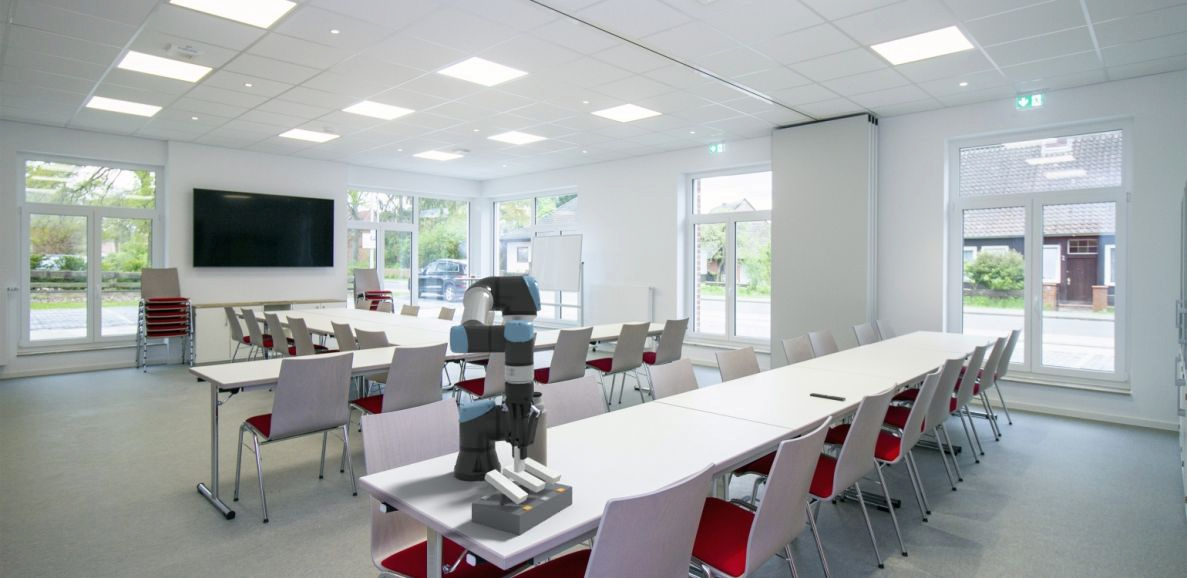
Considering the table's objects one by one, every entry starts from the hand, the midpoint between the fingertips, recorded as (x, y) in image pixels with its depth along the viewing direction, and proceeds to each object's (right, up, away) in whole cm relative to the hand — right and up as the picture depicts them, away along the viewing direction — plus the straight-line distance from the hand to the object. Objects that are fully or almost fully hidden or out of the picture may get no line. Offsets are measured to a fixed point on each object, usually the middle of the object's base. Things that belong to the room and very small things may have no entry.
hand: (519, 470), depth 157 cm
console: (0, -14, +9) cm, 17 cm away
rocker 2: (0, -5, +8) cm, 10 cm away
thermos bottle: (0, -13, +34) cm, 37 cm away
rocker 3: (+4, -4, +15) cm, 16 cm away
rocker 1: (-4, -5, +2) cm, 6 cm away
